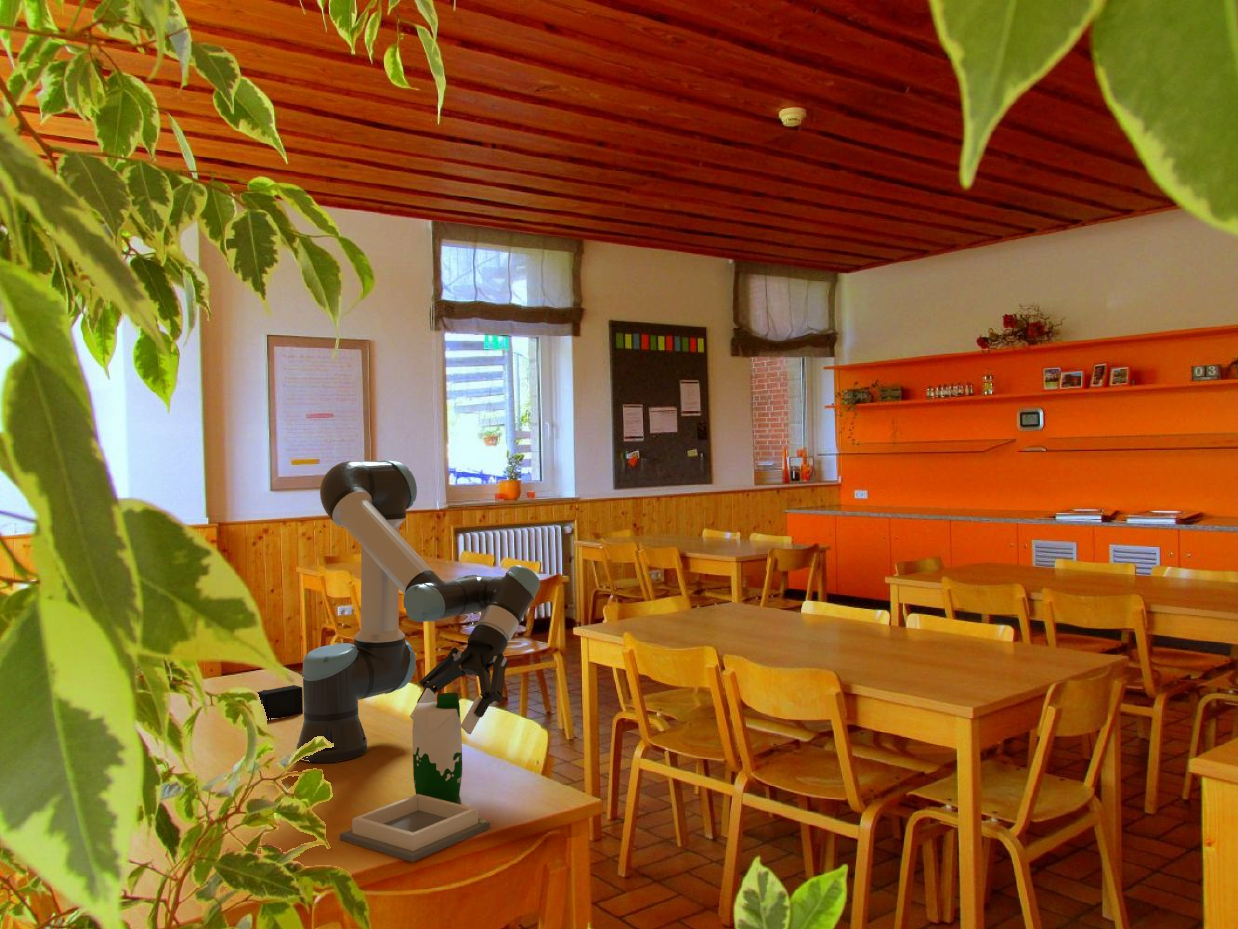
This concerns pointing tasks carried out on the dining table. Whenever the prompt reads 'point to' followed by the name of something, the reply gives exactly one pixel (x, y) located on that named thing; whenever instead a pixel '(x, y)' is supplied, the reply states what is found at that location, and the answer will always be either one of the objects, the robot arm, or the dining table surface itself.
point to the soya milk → (438, 748)
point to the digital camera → (282, 701)
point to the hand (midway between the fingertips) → (439, 725)
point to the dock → (415, 827)
